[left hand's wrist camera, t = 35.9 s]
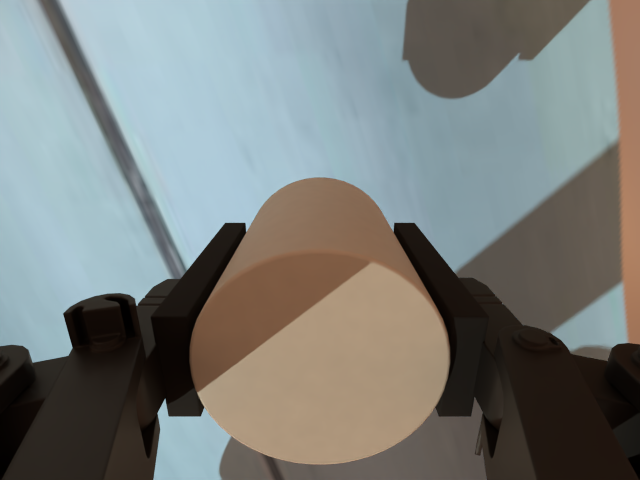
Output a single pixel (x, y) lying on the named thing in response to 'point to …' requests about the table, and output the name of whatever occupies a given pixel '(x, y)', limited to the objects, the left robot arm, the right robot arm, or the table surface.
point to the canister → (319, 332)
